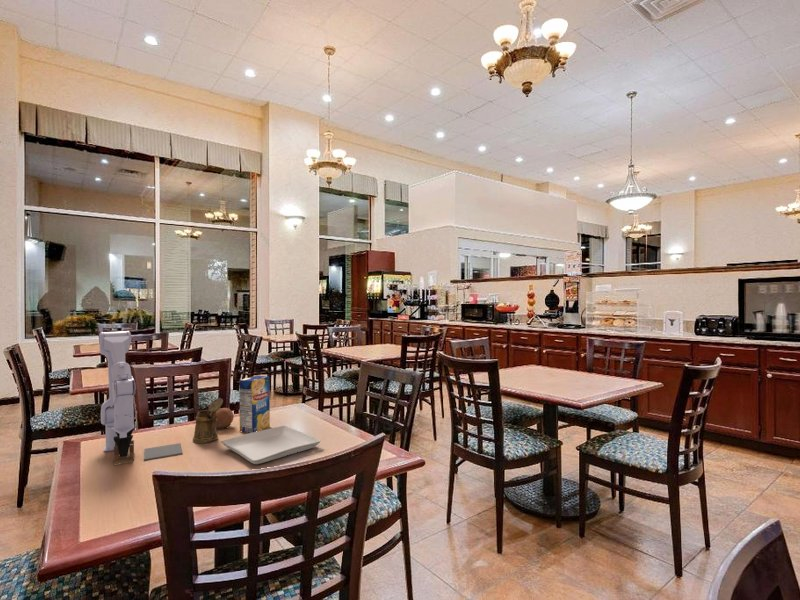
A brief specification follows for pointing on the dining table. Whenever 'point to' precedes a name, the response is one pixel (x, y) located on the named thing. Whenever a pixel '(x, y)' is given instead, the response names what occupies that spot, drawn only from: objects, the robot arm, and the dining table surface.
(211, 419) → the wooden mug
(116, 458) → the stool
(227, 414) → the onion
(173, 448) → the mat
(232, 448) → the square plate
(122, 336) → the robot arm
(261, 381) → the blue yellow food box
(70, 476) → the dining table surface
